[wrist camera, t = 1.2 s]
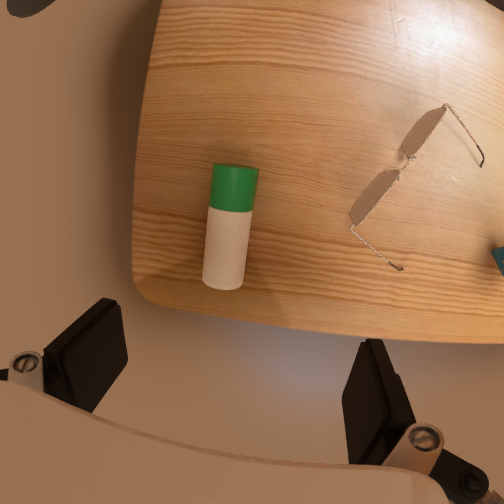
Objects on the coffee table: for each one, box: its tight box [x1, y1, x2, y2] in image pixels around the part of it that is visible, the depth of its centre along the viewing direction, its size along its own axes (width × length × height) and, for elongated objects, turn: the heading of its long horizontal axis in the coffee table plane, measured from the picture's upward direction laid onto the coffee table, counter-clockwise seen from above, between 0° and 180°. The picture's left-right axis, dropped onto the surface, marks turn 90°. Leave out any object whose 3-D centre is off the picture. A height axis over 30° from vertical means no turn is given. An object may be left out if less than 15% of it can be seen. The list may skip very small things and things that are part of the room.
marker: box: [202, 163, 258, 290], centre depth 25 cm, size 10×4×4 cm, turn 172°
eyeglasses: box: [349, 103, 484, 271], centre depth 22 cm, size 14×8×4 cm, turn 144°
